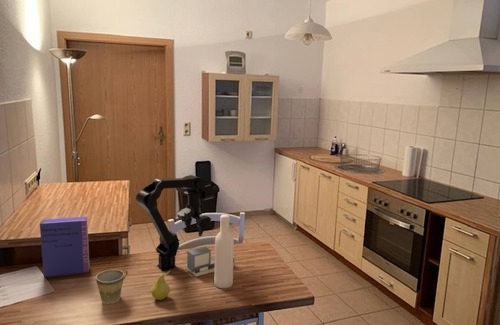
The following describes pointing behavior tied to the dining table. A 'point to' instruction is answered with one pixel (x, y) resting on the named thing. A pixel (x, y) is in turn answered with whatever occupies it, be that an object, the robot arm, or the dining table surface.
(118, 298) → the ceramic cup
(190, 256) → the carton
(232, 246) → the bottle
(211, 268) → the shelf
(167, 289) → the fruit
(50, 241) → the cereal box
